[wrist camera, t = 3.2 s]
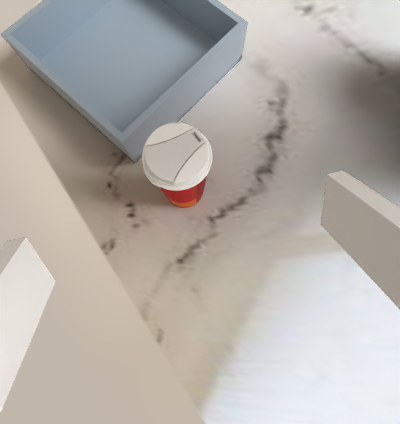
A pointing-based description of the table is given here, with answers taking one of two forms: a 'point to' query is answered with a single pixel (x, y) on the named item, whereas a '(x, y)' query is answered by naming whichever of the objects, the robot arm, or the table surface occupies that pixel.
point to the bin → (129, 59)
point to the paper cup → (178, 162)
